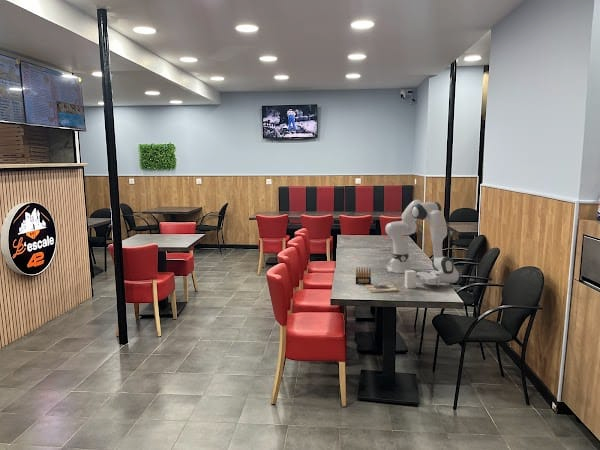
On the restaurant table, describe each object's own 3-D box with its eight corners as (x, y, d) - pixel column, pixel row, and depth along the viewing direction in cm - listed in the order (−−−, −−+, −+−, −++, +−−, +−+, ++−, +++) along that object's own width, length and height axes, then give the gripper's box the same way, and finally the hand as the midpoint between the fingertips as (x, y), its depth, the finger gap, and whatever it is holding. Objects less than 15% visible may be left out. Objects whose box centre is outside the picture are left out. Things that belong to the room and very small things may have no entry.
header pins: (378, 287, 297) (378, 283, 297) (384, 287, 298) (384, 283, 297) (379, 287, 296) (379, 283, 296) (384, 287, 297) (384, 283, 296)
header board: (365, 286, 304) (365, 284, 304) (391, 285, 306) (391, 283, 306) (371, 292, 288) (371, 291, 288) (398, 291, 290) (398, 290, 290)
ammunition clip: (355, 284, 310) (355, 267, 308) (355, 283, 312) (355, 266, 310) (371, 284, 308) (371, 267, 307) (371, 283, 310) (371, 267, 308)
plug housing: (404, 286, 302) (404, 270, 301) (413, 285, 303) (413, 270, 301) (407, 288, 297) (407, 272, 296) (415, 287, 298) (416, 271, 296)
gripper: (428, 269, 311) (409, 270, 309) (440, 276, 291) (420, 277, 289) (428, 278, 312) (409, 278, 310) (440, 286, 292) (420, 287, 290)
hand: (414, 278), depth 300 cm, fingers open, 8 cm apart
